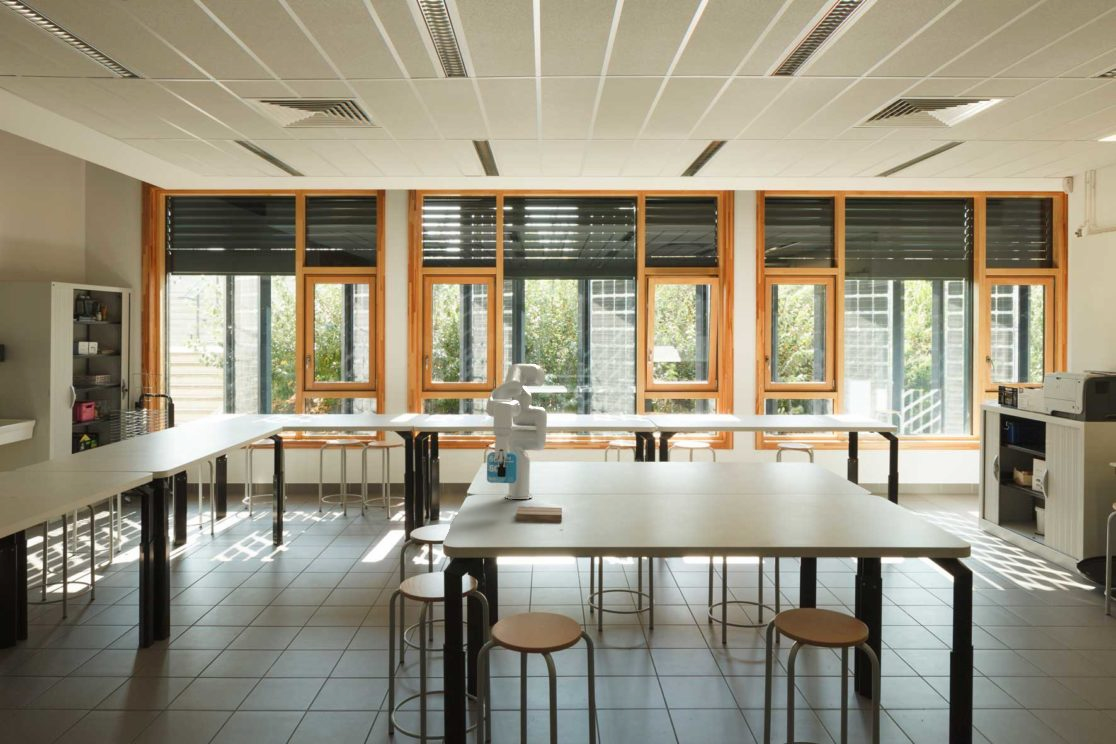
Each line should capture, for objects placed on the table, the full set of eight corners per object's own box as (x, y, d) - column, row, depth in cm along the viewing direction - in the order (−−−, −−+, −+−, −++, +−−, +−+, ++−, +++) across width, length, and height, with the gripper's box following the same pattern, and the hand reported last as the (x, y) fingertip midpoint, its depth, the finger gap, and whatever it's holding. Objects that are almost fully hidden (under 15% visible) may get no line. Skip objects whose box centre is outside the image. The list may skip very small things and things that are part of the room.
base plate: (518, 514, 316) (518, 506, 316) (561, 515, 316) (561, 507, 316) (516, 521, 302) (516, 514, 302) (561, 522, 302) (561, 515, 302)
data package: (486, 482, 311) (487, 453, 311) (488, 480, 316) (488, 451, 315) (515, 483, 311) (516, 454, 310) (517, 481, 315) (517, 452, 315)
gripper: (495, 428, 321) (494, 471, 322) (491, 434, 304) (490, 479, 305) (513, 429, 321) (512, 472, 322) (510, 434, 304) (509, 479, 305)
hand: (502, 475), depth 313 cm, fingers closed on data package, 4 cm apart
